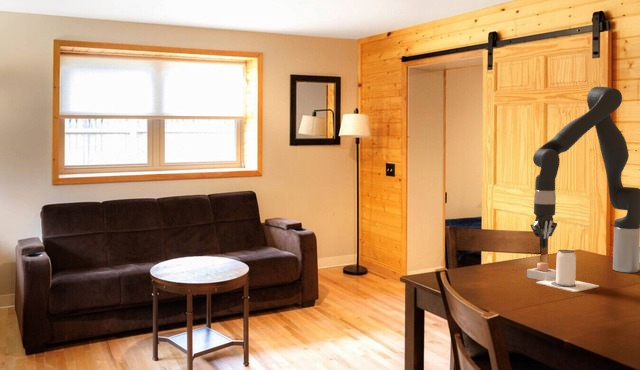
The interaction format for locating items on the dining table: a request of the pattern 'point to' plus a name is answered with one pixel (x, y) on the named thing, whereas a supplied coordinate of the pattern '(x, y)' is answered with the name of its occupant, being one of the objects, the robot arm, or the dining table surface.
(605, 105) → the robot arm
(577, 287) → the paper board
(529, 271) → the button housing
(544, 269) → the button
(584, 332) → the dining table surface
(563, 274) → the can
